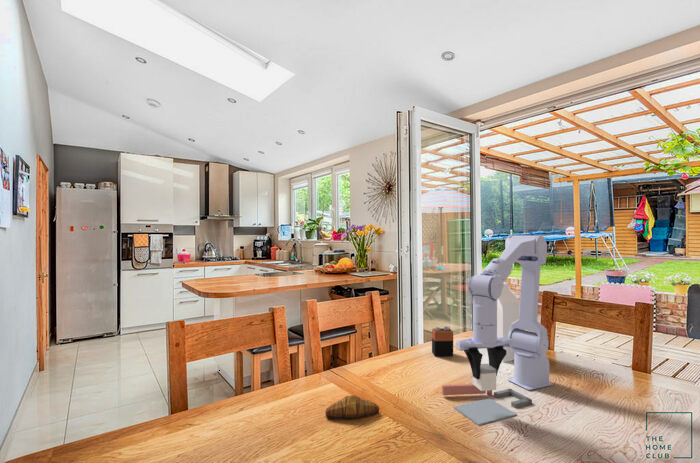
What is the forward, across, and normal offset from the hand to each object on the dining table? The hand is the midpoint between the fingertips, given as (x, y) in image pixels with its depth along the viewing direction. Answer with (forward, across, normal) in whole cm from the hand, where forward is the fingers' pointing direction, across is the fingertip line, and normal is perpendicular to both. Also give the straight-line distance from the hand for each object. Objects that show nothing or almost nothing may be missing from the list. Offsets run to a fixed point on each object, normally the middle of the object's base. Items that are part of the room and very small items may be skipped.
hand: (484, 376), depth 91 cm
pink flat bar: (+9, 0, -9) cm, 12 cm away
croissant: (+9, +33, -5) cm, 34 cm away
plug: (+2, 0, 0) cm, 3 cm away
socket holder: (+9, -10, -4) cm, 14 cm away
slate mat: (+9, 0, 0) cm, 9 cm away
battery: (+9, -8, -40) cm, 42 cm away
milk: (+9, -29, -37) cm, 48 cm away
